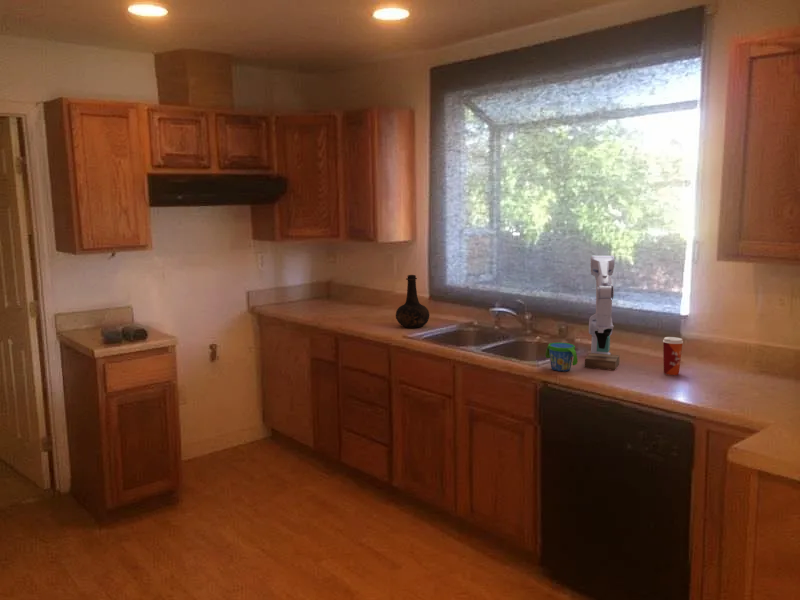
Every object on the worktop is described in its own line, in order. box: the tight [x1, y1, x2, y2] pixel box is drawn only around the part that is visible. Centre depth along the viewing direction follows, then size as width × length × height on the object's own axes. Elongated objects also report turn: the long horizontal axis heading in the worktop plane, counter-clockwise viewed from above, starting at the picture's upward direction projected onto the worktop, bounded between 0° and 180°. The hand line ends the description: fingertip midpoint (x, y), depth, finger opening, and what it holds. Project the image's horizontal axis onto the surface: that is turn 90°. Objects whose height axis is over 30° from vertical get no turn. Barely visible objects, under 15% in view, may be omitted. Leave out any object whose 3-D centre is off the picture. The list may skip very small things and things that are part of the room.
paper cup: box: [662, 336, 684, 376], centre depth 279 cm, size 8×8×14 cm
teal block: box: [597, 335, 611, 353], centre depth 291 cm, size 4×4×6 cm
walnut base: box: [584, 352, 620, 371], centre depth 293 cm, size 12×12×4 cm
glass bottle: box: [395, 274, 430, 329], centre depth 378 cm, size 18×18×28 cm
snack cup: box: [545, 342, 578, 372], centre depth 285 cm, size 16×10×10 cm
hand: (602, 347), depth 292 cm, fingers closed on teal block, 4 cm apart
